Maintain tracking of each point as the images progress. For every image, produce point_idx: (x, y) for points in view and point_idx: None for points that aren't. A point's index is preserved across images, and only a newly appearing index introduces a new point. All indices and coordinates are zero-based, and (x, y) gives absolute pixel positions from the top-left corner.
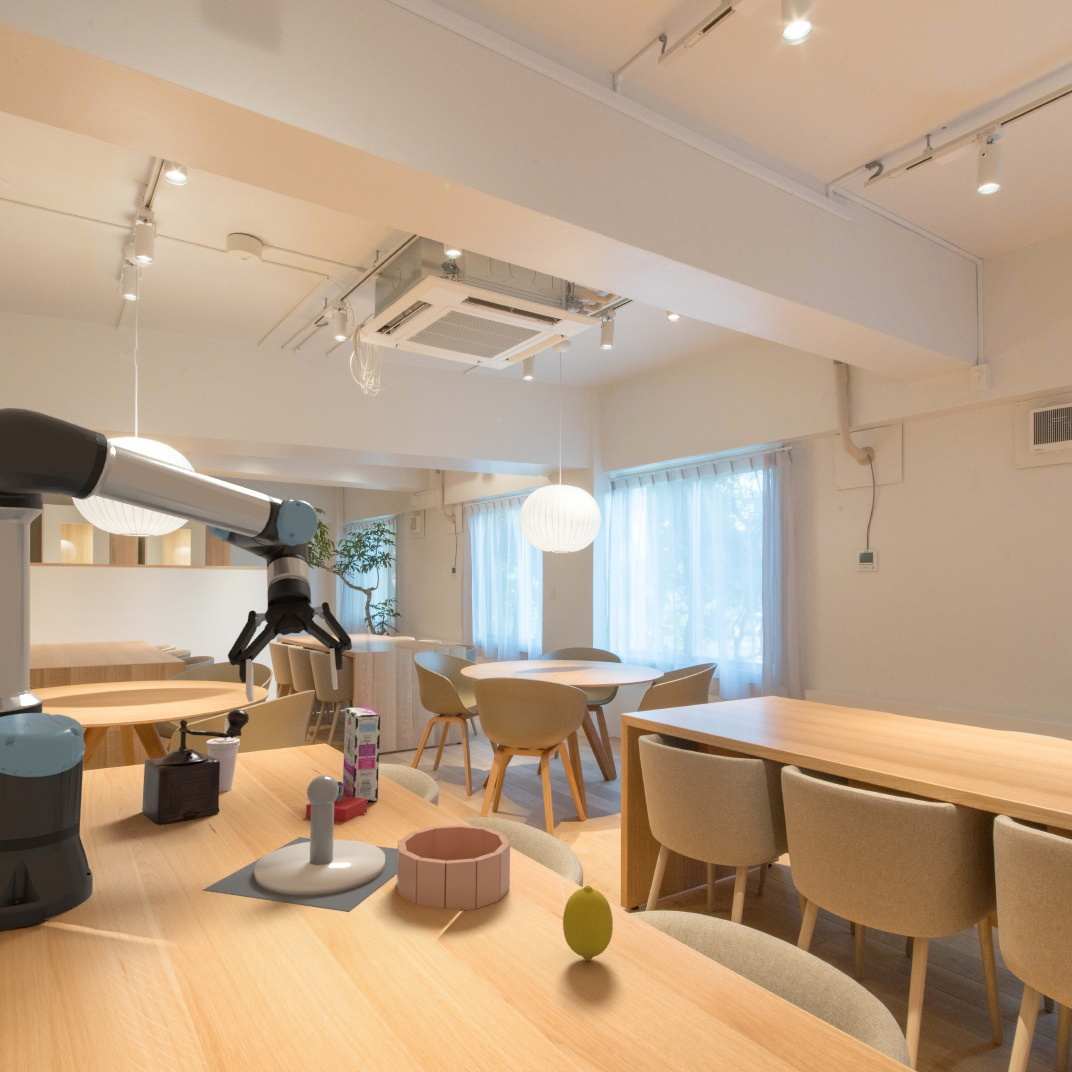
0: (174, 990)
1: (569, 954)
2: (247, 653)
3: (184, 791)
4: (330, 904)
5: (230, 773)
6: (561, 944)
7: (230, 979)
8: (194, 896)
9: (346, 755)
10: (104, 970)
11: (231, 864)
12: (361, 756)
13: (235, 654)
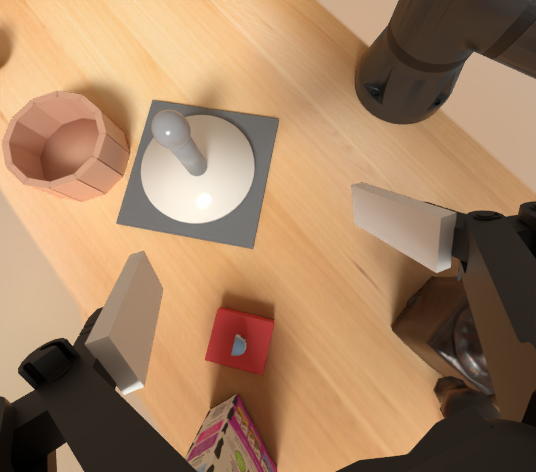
0: (223, 9)
1: (6, 73)
2: (483, 227)
3: (437, 298)
4: (169, 108)
5: None
6: (9, 84)
7: (198, 22)
8: (282, 115)
9: None
10: (276, 20)
11: (288, 179)
12: (214, 434)
13: (528, 212)
